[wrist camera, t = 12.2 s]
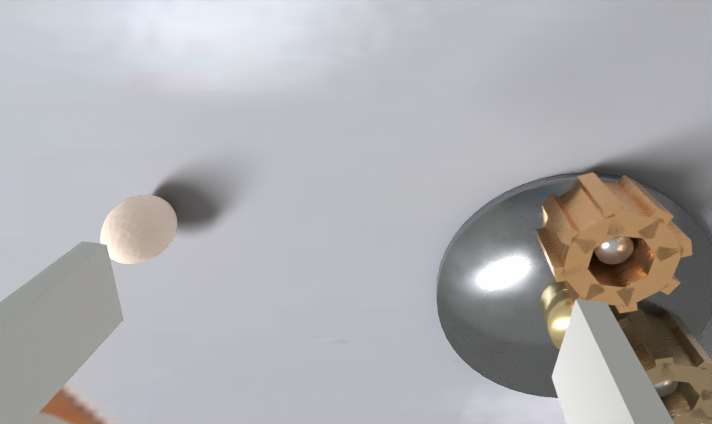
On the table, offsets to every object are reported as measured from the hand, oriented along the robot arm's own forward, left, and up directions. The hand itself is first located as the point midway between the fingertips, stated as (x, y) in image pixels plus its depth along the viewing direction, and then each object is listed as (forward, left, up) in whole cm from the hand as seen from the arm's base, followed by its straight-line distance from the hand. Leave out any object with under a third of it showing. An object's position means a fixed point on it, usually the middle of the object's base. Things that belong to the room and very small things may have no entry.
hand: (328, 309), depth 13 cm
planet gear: (+8, +17, -25) cm, 31 cm away
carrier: (+16, +17, -27) cm, 35 cm away
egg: (+12, -21, -27) cm, 36 cm away
